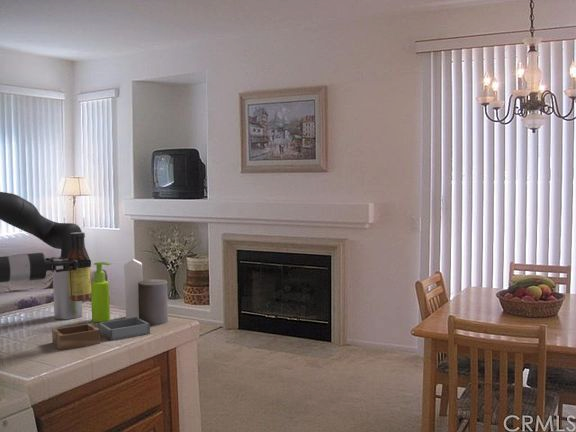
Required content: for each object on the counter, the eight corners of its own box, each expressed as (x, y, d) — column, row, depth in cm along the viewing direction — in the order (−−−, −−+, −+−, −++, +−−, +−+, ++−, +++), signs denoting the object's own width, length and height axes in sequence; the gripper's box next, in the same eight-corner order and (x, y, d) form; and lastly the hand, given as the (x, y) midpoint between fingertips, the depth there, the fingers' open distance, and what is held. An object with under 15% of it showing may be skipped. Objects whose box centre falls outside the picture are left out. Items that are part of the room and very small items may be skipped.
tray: (98, 332, 177) (98, 322, 177) (136, 326, 184) (136, 317, 184) (110, 340, 168) (109, 330, 167) (150, 333, 175) (149, 323, 174)
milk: (126, 320, 192) (123, 256, 191) (125, 316, 198) (123, 254, 197) (144, 319, 194) (141, 255, 193) (143, 315, 200) (141, 253, 199)
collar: (52, 342, 166) (51, 329, 166) (90, 336, 173) (89, 323, 172) (60, 350, 158) (60, 336, 158) (100, 343, 165) (99, 329, 164)
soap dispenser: (107, 322, 190) (105, 263, 189) (88, 321, 191) (86, 263, 190) (115, 318, 196) (113, 261, 195) (97, 317, 197) (95, 261, 196)
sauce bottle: (96, 299, 167) (94, 232, 166) (78, 303, 162) (76, 234, 160) (81, 296, 170) (80, 231, 169) (63, 300, 165) (62, 232, 164)
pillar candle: (132, 323, 187) (131, 279, 186) (151, 317, 196) (150, 274, 195) (156, 327, 183) (155, 281, 182) (174, 320, 192) (173, 276, 191)
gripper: (30, 256, 151) (94, 251, 161) (20, 251, 163) (80, 247, 172) (31, 284, 152) (95, 277, 161) (21, 277, 163) (81, 271, 173)
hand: (87, 261), depth 167 cm, fingers closed on sauce bottle, 6 cm apart
